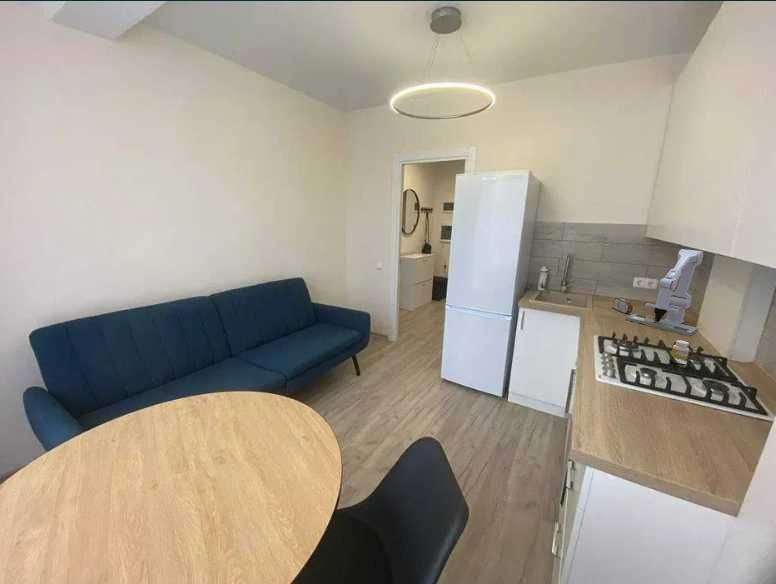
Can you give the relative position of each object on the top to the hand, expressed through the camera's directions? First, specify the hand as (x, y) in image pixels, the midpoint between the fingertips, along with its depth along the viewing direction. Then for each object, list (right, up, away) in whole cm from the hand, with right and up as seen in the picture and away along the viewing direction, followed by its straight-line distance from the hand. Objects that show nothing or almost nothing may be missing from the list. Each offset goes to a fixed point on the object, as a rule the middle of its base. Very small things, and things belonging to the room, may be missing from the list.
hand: (657, 321), depth 186 cm
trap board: (+3, -3, +2) cm, 5 cm away
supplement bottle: (-30, -14, -45) cm, 56 cm away
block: (-2, 0, +3) cm, 4 cm away
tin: (-1, +4, +28) cm, 28 cm away
